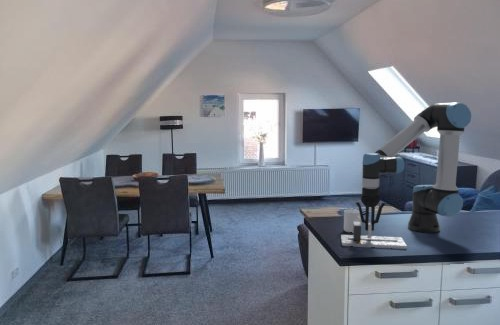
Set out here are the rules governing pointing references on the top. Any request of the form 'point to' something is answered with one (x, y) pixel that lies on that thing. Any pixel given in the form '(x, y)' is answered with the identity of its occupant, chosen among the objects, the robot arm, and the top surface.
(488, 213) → the top surface
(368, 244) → the fader console
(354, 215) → the mug
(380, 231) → the top surface
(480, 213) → the top surface
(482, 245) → the top surface
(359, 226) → the fader tab
